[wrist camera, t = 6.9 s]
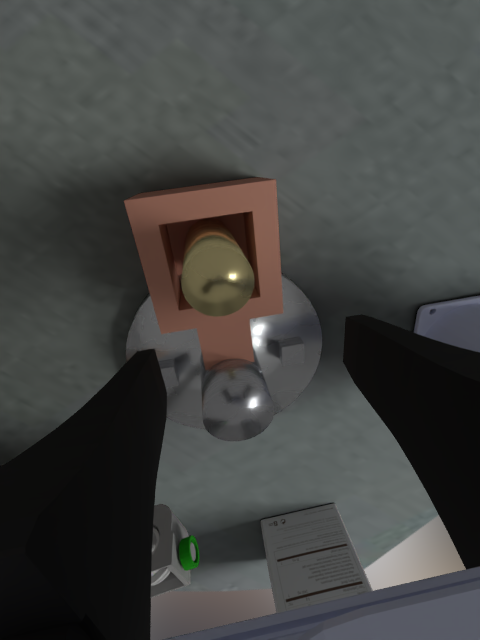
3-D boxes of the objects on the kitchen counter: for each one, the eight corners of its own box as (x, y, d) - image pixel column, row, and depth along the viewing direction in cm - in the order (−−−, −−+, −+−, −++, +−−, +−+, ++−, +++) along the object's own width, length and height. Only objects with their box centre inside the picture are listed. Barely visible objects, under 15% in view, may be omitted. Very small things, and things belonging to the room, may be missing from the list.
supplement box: (335, 543, 38) (411, 745, 25) (265, 559, 37) (306, 775, 24) (337, 500, 34) (430, 716, 20) (259, 517, 33) (303, 751, 20)
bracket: (257, 177, 17) (275, 179, 13) (269, 324, 22) (286, 358, 18) (139, 193, 17) (123, 200, 13) (177, 340, 22) (173, 379, 18)
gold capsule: (233, 218, 17) (255, 246, 11) (233, 265, 18) (253, 314, 12) (183, 218, 17) (178, 248, 11) (187, 267, 18) (184, 318, 12)
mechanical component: (75, 462, 26) (12, 618, 17) (187, 422, 25) (183, 559, 16) (94, 482, 27) (45, 636, 18) (200, 444, 27) (204, 581, 18)
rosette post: (316, 242, 20) (370, 275, 14) (316, 401, 26) (352, 471, 20) (101, 276, 19) (58, 327, 13) (156, 432, 25) (145, 515, 19)
